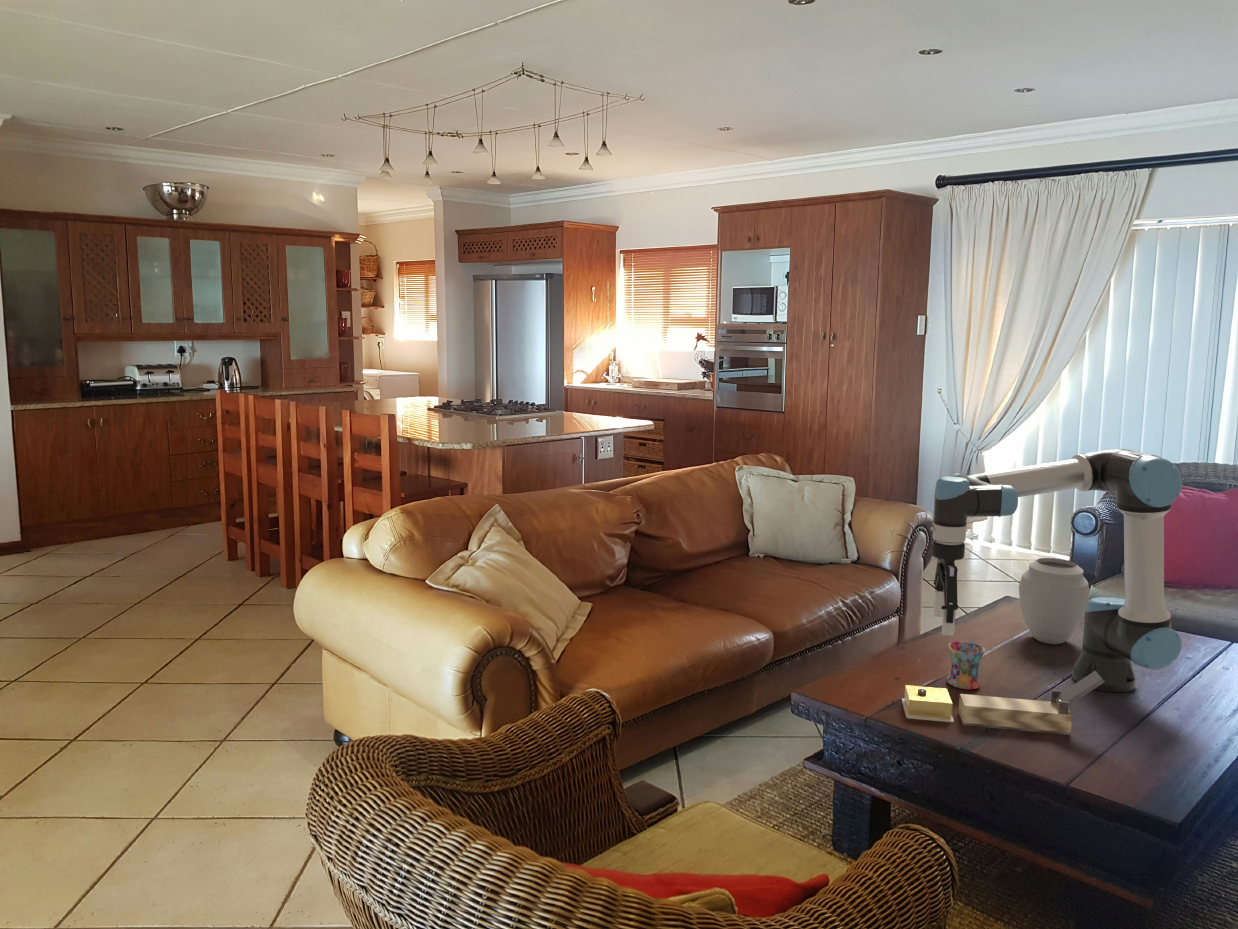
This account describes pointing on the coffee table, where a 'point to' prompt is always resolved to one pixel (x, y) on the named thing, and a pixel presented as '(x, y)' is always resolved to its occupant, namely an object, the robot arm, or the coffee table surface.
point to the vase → (1053, 599)
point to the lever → (1080, 688)
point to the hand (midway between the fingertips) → (943, 625)
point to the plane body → (1016, 713)
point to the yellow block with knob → (928, 702)
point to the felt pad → (925, 717)
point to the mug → (965, 664)
